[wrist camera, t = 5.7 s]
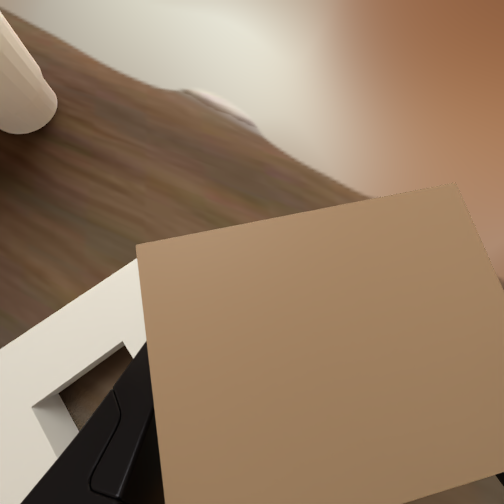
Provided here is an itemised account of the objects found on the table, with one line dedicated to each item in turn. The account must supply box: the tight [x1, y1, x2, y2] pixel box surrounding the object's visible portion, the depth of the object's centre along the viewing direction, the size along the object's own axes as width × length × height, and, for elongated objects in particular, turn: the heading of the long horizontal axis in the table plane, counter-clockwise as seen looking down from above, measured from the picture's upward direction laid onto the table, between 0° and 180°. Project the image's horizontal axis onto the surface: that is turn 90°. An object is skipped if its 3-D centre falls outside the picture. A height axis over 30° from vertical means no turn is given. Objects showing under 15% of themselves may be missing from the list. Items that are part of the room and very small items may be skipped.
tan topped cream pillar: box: [136, 183, 504, 504], centre depth 9 cm, size 4×6×11 cm
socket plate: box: [0, 259, 146, 504], centre depth 18 cm, size 16×16×2 cm
